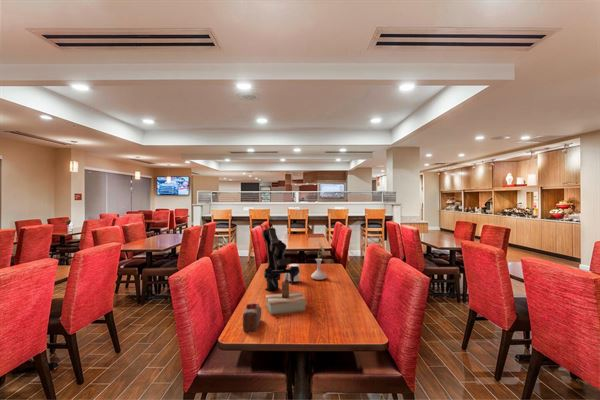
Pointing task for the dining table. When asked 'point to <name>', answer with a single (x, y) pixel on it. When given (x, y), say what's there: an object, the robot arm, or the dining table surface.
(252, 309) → the food item
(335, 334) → the dining table surface
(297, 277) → the spread jar
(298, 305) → the grey rectangular tray
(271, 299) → the lid
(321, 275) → the flower in vase
